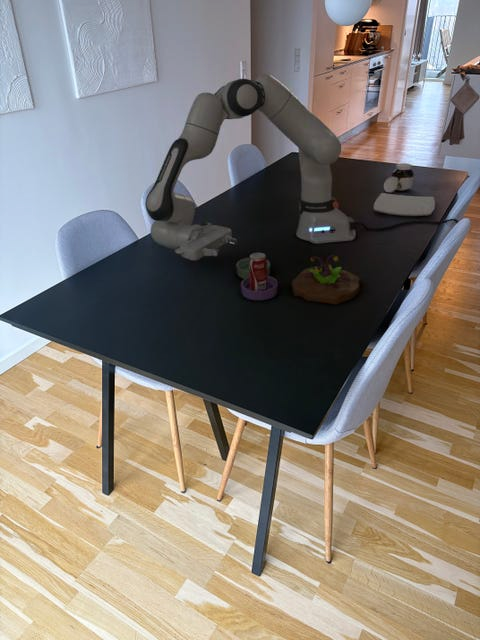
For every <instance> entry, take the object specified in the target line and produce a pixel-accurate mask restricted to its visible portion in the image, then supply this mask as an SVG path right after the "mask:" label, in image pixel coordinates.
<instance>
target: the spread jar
mask: <svg viewBox="0 0 480 640" xmlns="http://www.w3.org/2000/svg"><path fill="white" fill-rule="evenodd" d="M412 167H413V165H412V164H410V163H405V162H404V163H403V162H401V163H397V164H396V166H395V169H394V170H393V171H392V173H391V175H390V176H389V177H388V178H386V179H385V181H384V184H383V189H384V191H385V192H386V193H388V194H392V193H394V192H396V193H406V192H409V191H410V190H411V189H412V187H413V185H414V181H415V173H414V171H413V170H412Z"/></svg>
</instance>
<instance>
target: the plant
mask: <svg viewBox="0 0 480 640" xmlns="http://www.w3.org/2000/svg"><path fill="white" fill-rule="evenodd" d="M331 259H332V260H333V261H334V262H339V257H338V256H337V255H335V254H331V255H329V256H328V257H327V259H326V261H325V262H324V261H323V260H322V258H321V257H319V256H317V255H316V256H312V257H310V261H311V262H315V260H318V261H319V263H320V265H319V266H311V267H307V268H304V269H303V270H302V271H301V272H300V273H299V274H298V275H297V276H296V277H295V278H294V279H293V280H292V281H291V292H292V294H293V296H295V297H301V298H302V299H304V300H305V301H308V302H317V303H323V304H329V305H339V304H341V303H343V302H347V301H350V300H352V299H353V298H354V297H356V295H358V294H359V292H360V285H361V279H362V278H361V277H360V276H358V275H356V274H354V273H352V272H349V271H347V270H343V269H342V268H343V267H342V266H338V267H335V268H334V267H332V265H331V264H330V260H331Z"/></svg>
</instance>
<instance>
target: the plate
mask: <svg viewBox="0 0 480 640" xmlns="http://www.w3.org/2000/svg"><path fill="white" fill-rule="evenodd" d="M374 201H375V202H374V204H373V211H375V212H376V213H382V214H387V215H391V216H398V217H428V216H430V215H432V213H433V212H434V211H435V208H436V202H435V197H434V196H415V195H402V194H392V193H384V192H381V193H380V194H379V195H378V197H377V198H376V200H374Z"/></svg>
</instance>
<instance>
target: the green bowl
mask: <svg viewBox="0 0 480 640" xmlns="http://www.w3.org/2000/svg"><path fill="white" fill-rule="evenodd" d="M249 259H250V257H245V258H242V259H240V260H238V261H237V262H236V265H235V268H236V275H237V276H238V277H239V278H241V279H242V280H244V279H245V278H247V277H250V272H249ZM270 273H271V262H270V261H269V260H268V259H267V276H270Z"/></svg>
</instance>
